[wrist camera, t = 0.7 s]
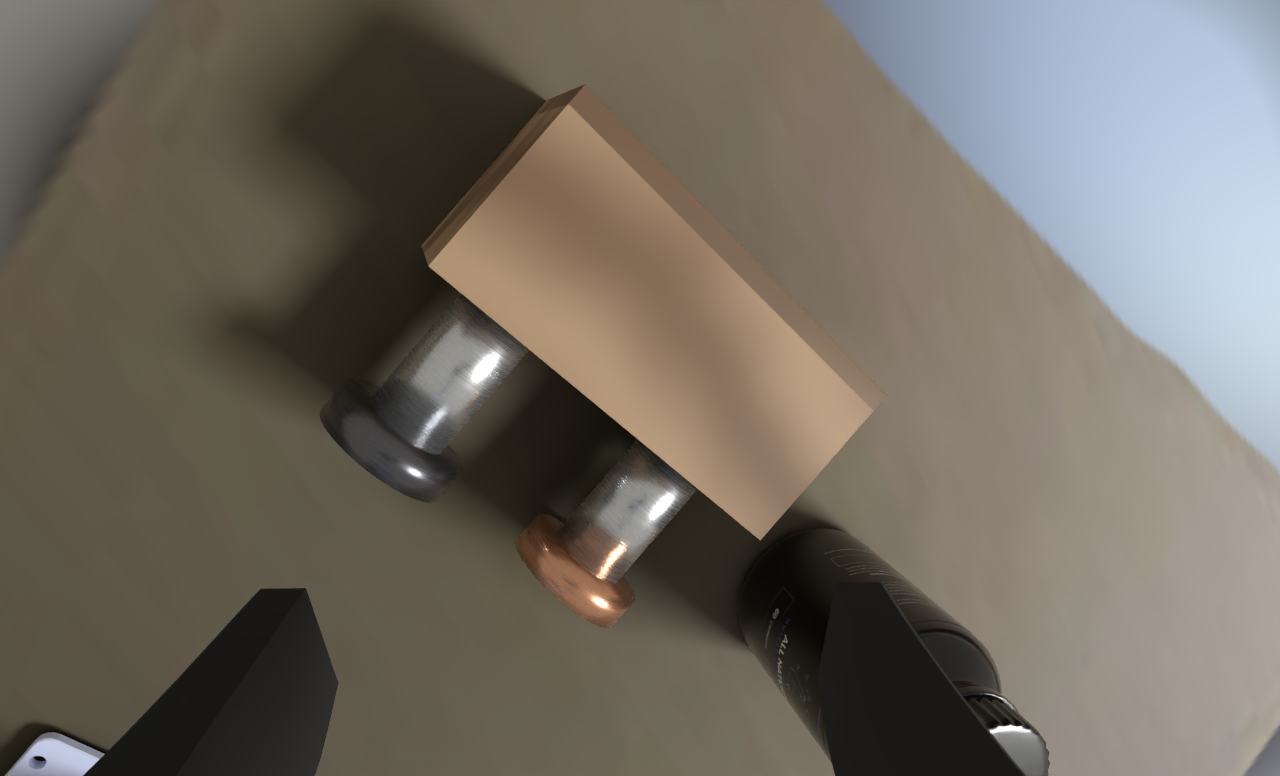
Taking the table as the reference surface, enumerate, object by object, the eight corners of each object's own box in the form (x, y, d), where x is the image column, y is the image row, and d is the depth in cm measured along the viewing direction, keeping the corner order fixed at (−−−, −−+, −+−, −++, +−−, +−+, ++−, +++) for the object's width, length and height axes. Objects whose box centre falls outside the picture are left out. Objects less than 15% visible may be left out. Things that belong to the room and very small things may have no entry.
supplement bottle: (702, 601, 34) (849, 809, 23) (818, 492, 35) (1019, 647, 24) (790, 689, 37) (959, 914, 26) (897, 587, 37) (1111, 767, 26)
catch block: (698, 476, 33) (760, 540, 27) (421, 245, 27) (428, 266, 22) (803, 355, 33) (887, 395, 27) (546, 100, 27) (585, 84, 22)
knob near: (434, 469, 29) (442, 522, 25) (325, 392, 27) (313, 434, 23) (559, 325, 29) (588, 353, 24) (457, 239, 27) (470, 252, 23)
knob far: (596, 583, 32) (627, 648, 28) (507, 520, 30) (526, 579, 26) (709, 454, 32) (757, 498, 28) (626, 383, 30) (665, 419, 26)
